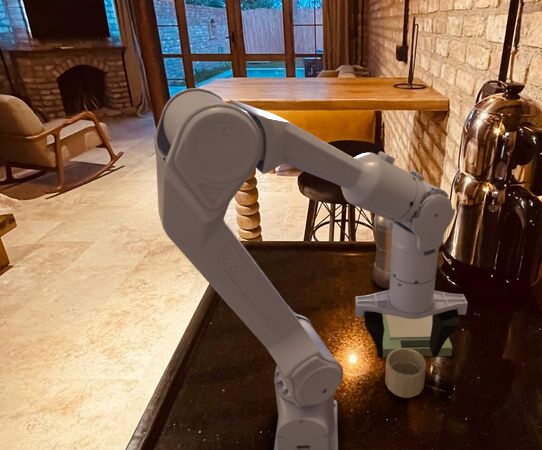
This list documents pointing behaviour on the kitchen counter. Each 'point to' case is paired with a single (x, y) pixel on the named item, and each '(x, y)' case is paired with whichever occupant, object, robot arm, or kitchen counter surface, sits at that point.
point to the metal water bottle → (383, 251)
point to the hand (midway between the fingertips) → (406, 352)
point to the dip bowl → (405, 372)
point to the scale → (410, 335)
